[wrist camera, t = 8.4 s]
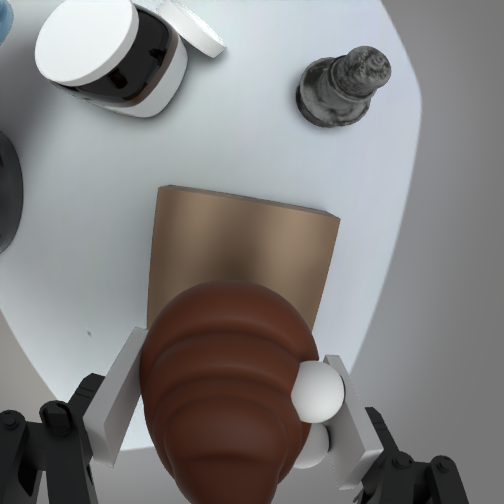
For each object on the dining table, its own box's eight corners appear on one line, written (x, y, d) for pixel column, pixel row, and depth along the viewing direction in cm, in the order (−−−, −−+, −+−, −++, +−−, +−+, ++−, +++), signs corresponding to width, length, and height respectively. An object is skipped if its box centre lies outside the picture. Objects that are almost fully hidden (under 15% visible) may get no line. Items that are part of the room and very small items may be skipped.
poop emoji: (141, 268, 14) (26, 403, 5) (330, 274, 14) (436, 417, 5) (162, 424, 16) (131, 555, 7) (304, 428, 17) (333, 561, 7)
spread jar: (77, 99, 24) (2, 74, 12) (132, 2, 21) (88, -60, 10) (184, 140, 25) (144, 121, 14) (242, 34, 23) (244, -38, 12)
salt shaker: (360, 129, 25) (434, 110, 14) (297, 133, 25) (340, 108, 14) (349, 69, 24) (413, 20, 12) (287, 70, 24) (320, 9, 12)
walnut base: (156, 327, 30) (146, 348, 26) (170, 184, 26) (158, 187, 22) (293, 347, 31) (299, 370, 27) (326, 211, 27) (340, 218, 23)
